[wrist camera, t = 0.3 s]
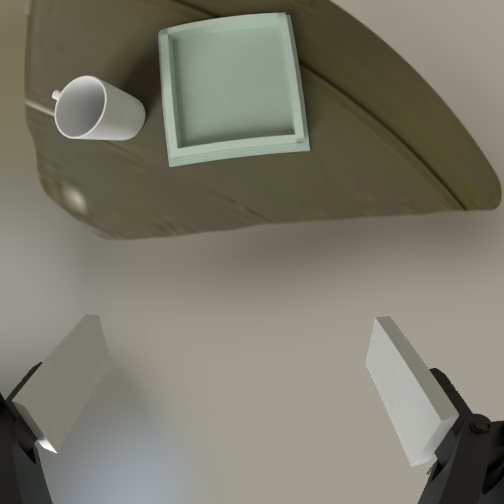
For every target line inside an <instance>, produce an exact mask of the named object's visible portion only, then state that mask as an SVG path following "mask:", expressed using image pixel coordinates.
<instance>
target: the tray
mask: <svg viewBox="0 0 504 504" xmlns="http://www.w3.org/2000/svg"><path fill="white" fill-rule="evenodd" d="M158 41H159V61H160V77H161V90H162V102H163V113H164V123H165V133H166V142H167V150H168V159H169V166H170V167H174V166H180V165H186V164H192V163H198V162H205V161H212V160H219V159H227V158H235V157H244V156H253V155H262V154H273V153H285V152H298V151H310V147H309V137H308V128H307V120H306V112H305V104H304V96H303V89H302V82H301V75H300V69H299V62H298V56H297V50H296V44H295V38H294V33H293V27H292V22H291V17H290V15H286V13H264V14H251V15H240V16H231V17H224V18H217V19H210V20H204V21H198V22H193V23H188V24H183V25H179V26H174V27H170V28H166V29H162V30H160V32H159V33H158Z"/></svg>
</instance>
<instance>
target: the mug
mask: <svg viewBox="0 0 504 504" xmlns="http://www.w3.org/2000/svg"><path fill="white" fill-rule="evenodd" d="M52 98H54V99H56V100H57V103H56V107H55V121H56V125H57V127H58V129H59V131H60V132H61V133H62V134H63V135H64V136H66V137H69V138H77V139H101V140H127V139H130V138H132V137H134V136H135V135H136V134H137V133H138V132H139V131H140V130H141V128H142V127H143V124H144V122H145V109H144V106H143V104H142V103H141V102H140V101H139V100H138V99H136V98H135V97H133V96H131V95H129V94H127V93H126V92H124V91H122V90H120V89H118V88H116V87H114V86H112V85H110V84H108V83H107V82H105V81H103V80H100V79H98V78H96V77H93V76H82V77H79V78H76V79H75V80H73V81H72V82H70V83H69V84H68V85H67V86H66V87H65V88H64V89H63V91H58V90H55V91H54V92H53V94H52Z"/></svg>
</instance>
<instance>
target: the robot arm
mask: <svg viewBox="0 0 504 504" xmlns="http://www.w3.org/2000/svg"><path fill="white" fill-rule="evenodd" d="M110 362H111V357H110V354H109V350H108V347H107V344H106V340H105V337H104V333H103V330H102V326H101V322H100V318H99V316H98V315H85V316H84V318H83V319H82V320H81V321H80V322H79V323H78V324H77V325H76V326H75V327H74V328H73V329H72V331H71V332H70V333H69V334H68V335H67V336H66V337H65V338H64V339H63V340H62V341H61V343H60V344H59V345H58V346H57V347H56V348H55V349H54V350H53V352H52V353H51V354H50V355H49V356H48V357H47V358H46V360H45V361H44V362H40V363H39V364H37V365H36V366H34V367H32V369H31V370H30V371H29V372H28V373H27V376H25V377H24V378H23V379H22V382H20V383H19V384H18V385H17V387H16V388H15V389H14V390H13V391H12V392H11V394H10V395H9V396H8V398H7V399H6V400H4V398H3V396H2V395H1V393H0V504H53V503H52V500H51V497H50V494H49V491H48V488H47V485H46V481H45V478H44V474H43V470H42V467H41V463H40V458H39V454H38V450H37V448H36V446H35V444H34V443H35V442H36V440H38V441H39V442H40V444H41V445H42V446H43V447H44V448H45V449H48V450H50V451H53V452H55V453H58V451H59V450H60V447H61V445H62V444H63V442H64V440H65V438H66V437H67V435H68V433H69V431H70V429H71V428H72V426H73V424H74V422H75V420H76V419H77V417H78V415H79V413H80V412H81V410H82V408H83V407H84V405H85V403H86V402H87V400H88V398H89V396H90V395H91V393H92V391H93V390H94V388H95V386H96V385H97V383H98V381H99V380H100V378H101V377H102V375H103V373H104V371H105V370H106V368H107V367H108V365H109V364H110ZM365 365H366V367H367V369H368V371H369V373H370V375H371V377H372V379H373V381H374V384H375V386H376V388H377V390H378V392H379V394H380V396H381V399H382V401H383V403H384V405H385V408H386V410H387V412H388V414H389V416H390V419H391V421H392V423H393V425H394V428H395V430H396V432H397V434H398V437H399V439H400V442H401V444H402V446H403V449H404V451H405V454H406V456H407V458H408V461H409V463H410V466H411V467H413V466H416V465H419V464H422V463H425V462H428V461H429V460H430V458H431V457H432V455H433V454H434V453H435V455H436V457H437V461H436V462H435V463H434V464H433V466H432V467H431V468H430V469H429V471H428V472H427V474H428V475H429V474H430V472H431V471H432V472H431V474H430V477H429V479H428V481H427V484H426V486H425V488H424V491H423V493H422V495H421V498H420V500H419V502H418V504H504V421H496V422H491V421H490V420H489V419H488V418H487V417H486V416H483V415H481V414H473V413H472V412H471V410H470V409H469V407H468V406H467V405H466V403H465V402H464V400H463V399H462V397H461V396H460V394H459V393H458V391H456V390H455V387H454V386H453V385H452V384H451V382H450V381H449V379H448V378H447V376H446V375H445V374H444V373H442V372H441V371H440V370H438V369H437V368H433V369H428V367H427V366H426V365H425V363H424V362H423V361H422V359H421V358H420V356H419V355H418V354H417V352H416V351H415V349H414V348H413V347H412V345H411V344H410V343H409V341H408V340H407V338H406V337H405V336H404V335H403V333H402V332H401V330H400V329H399V328H398V326H397V325H396V324H395V322H394V321H393V320H392V319H391V317H390V316H387V317H376V318H375V323H374V328H373V332H372V337H371V341H370V345H369V350H368V354H367V358H366V362H365Z"/></svg>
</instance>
